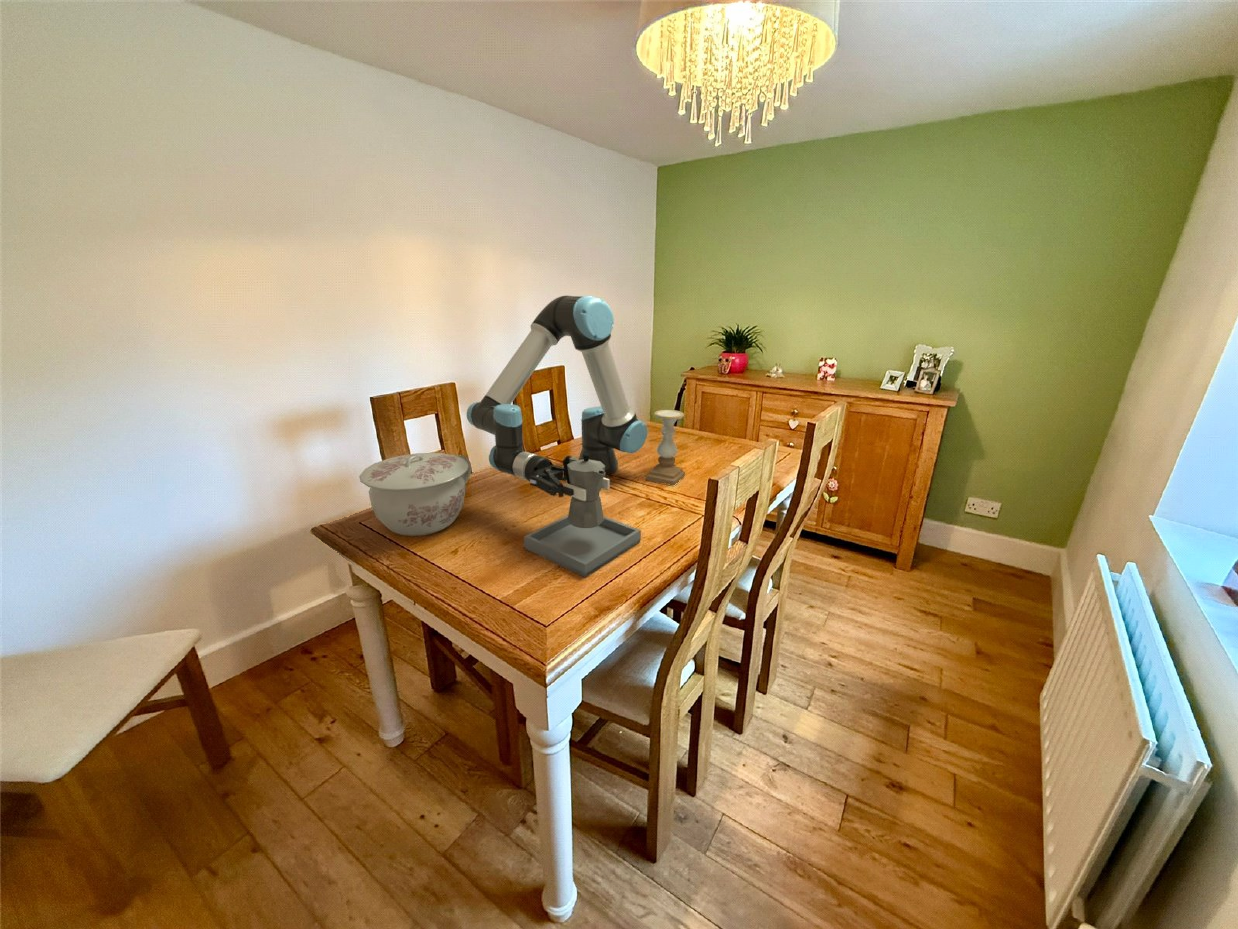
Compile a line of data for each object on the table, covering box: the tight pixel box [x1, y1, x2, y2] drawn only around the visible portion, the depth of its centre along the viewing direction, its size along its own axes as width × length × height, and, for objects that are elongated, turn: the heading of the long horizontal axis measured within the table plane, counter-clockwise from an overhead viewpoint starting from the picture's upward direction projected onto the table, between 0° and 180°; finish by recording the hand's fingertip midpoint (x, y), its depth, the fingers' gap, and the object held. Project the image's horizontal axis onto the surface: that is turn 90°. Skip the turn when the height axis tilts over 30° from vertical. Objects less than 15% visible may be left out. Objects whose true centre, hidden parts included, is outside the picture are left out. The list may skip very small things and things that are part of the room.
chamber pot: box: [358, 452, 472, 537], centre depth 133 cm, size 28×28×21 cm
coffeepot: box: [562, 454, 606, 528], centre depth 122 cm, size 15×9×18 cm, turn 44°
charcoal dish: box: [523, 514, 642, 578], centre depth 127 cm, size 22×21×4 cm
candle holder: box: [645, 409, 686, 486], centre depth 169 cm, size 11×11×24 cm
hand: (597, 489), depth 119 cm, fingers closed on coffeepot, 8 cm apart
